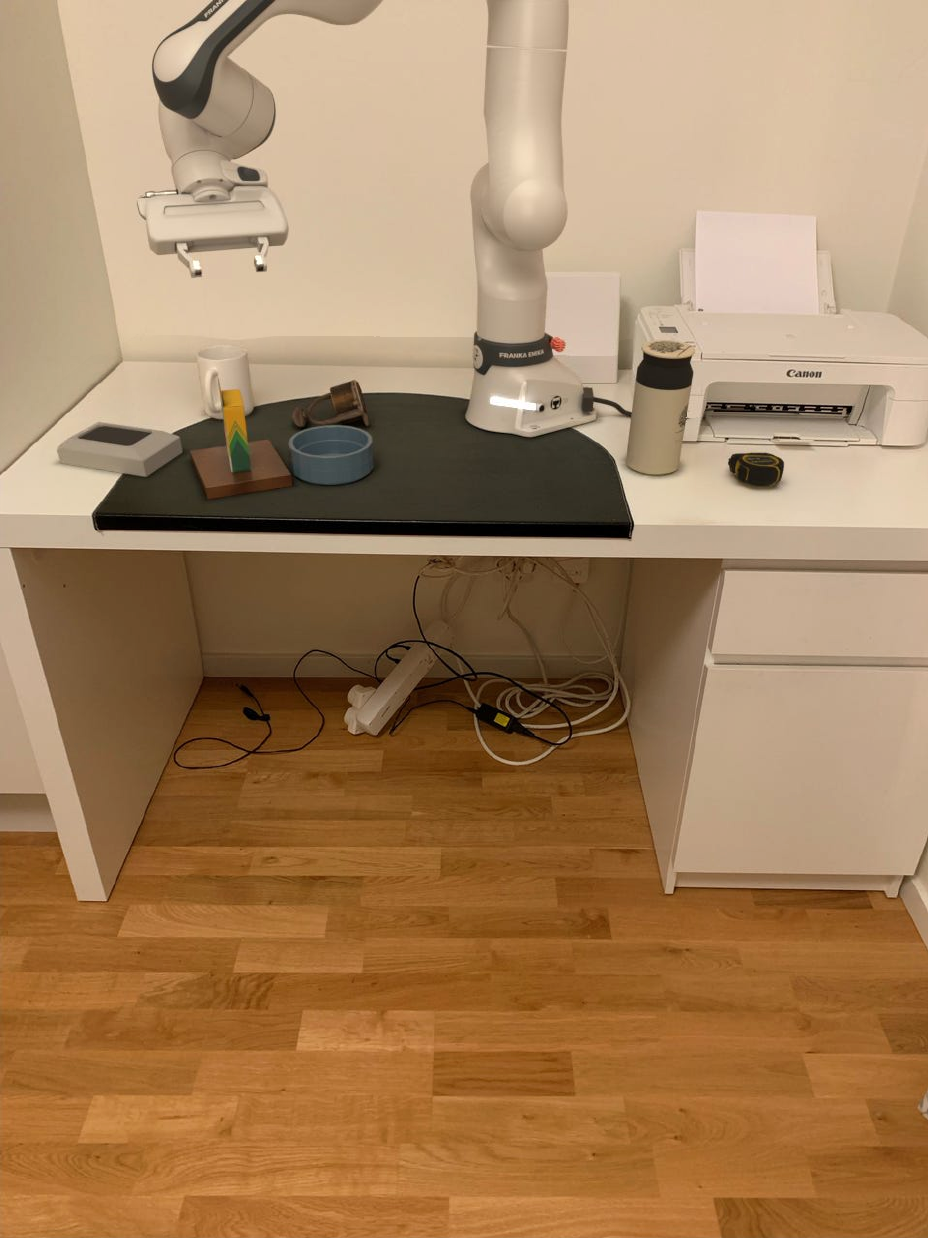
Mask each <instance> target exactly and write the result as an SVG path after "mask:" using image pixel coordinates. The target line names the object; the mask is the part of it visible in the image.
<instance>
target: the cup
mask: <svg viewBox="0 0 928 1238" xmlns="http://www.w3.org/2000/svg"><path fill="white" fill-rule="evenodd" d="M195 359H196V364H197V371H198V379H199V384H200V389H201V395H202V402H203V407H204V411H205V413H206V415H207V416H208V417H211V418H212V419H216V420H223V413H222V406H221V399H220V391H219V385H218V379H219V383H220V388H221V391H222V390H233V389H239V390H240V393H241V397H242V401H243V404H244V412H245V417H248V416H249V415H251V414H252V413H253V411H254V409H255V401H254V395H253V386H252V378H251V370H250V361H249V355H248V350H247V349H246V348H244V347H242V346H238V345H234V344H233V345H232V344H222V345H219V344H218V345H211V346H207V347H204V348H201V349H199V350H198V351H197V352H196V353H195Z"/></svg>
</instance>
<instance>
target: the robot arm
mask: <svg viewBox="0 0 928 1238" xmlns="http://www.w3.org/2000/svg"><path fill="white" fill-rule="evenodd" d="M383 1H384V0H212V1H210V3H208V4H207V5H206V6H205V7H204V8H203V9H202V10H201V11H199V12H198V14H197V15H195V16H194V18H192V19H191V20H189V21H188V22H186V23H185V24H183V25H182V26H181V27H178V28H177V29H175V30H174V31H172V32H170V34H168V35H167V36H166V37H165V38H163V40H161V42H160V43H159V44H158V45H157V47H156V49H155V51H154V54H153V55H152V60H151V61H152V62H151V73H152V79H153V85H154V88H155V91H156V93H157V97H158V107H157V109H158V123H159V128H160V129H159V130H160V134H161V138H162V142H163V146H164V149H165V152H166V155H167V157H168V158H169V160H170V162H171V167H170V168H171V170H170V171H171V176H172V180H173V183H174V188H175V189H167V190H160V191H154V190H148V191H145V192H144V194H142V195H141V196H139V197H138V199H137V200H136V207H137V210H138V214H139V216H140V217H141V218H142V219H143V220H144V221H145V226H146V234H147V242H148V247H149V249H150V251H152V252H153V253H154V254H155V255H156V256H167V255H177V259H178V261H180V262H181V263H182V265H184V266H185V267H186V268H187V269H188V271H189V275H190V278H191V279H195V278H202V277H203V271H202V270H203V269H202V267H201V263H200V260H199V259H197V260H195V259H193V258H192V257H191V256H190V255H189V254H193V253H203V252H204V253H205V252H216V251H217V252H218V251H227V250H228V251H229V250H230V251H231V250H242V249H243V250H244V249H257V252H258V253H260V254H257V255H254V256H253V258H254V260H253V265H254V268H255V271H256V272H255V273H263V272H264V273H265V272H267V270H268V264H267V260H266V258H267V255H268V252H269V248H270V247H281V246H282V247H283V246H284V245H285V244H286V242H287V240H288V237H289V228H290V227H289V222H288V219H287V216H286V213H285V211H284V208H283V206H282V203H281V201H280V199H279V197H278V195H277V193H276V192H274V190H272V189H271V188H269V179H268V175H267V173H266V172H265V171H264V170H262V169H259V168H255V167H250V166H246V165H242V164H239V163H236V162H233V160H237V159H240V158H242V157H243V156H246V155H248V154H250V153H251V152H252V151H254V150H256V149H258V148H259V147H260V146H262V145H263V144H265V142H267V140H268V139H269V138H270V136H271V135H272V133H273V130H274V127H275V124H276V115H277V109H276V102H275V97H274V94H273V92H272V91H271V89H270V87H268V86H266V85H265V83H263V82H262V81H261V80H259V79H258V78H256V77H255V76H254V75H253V74H251V72H249V71H247V70H246V69H245V68H243V67H241V66H240V65H238V63H236V62H235V61H234V60H233V59H231V58H229V57H230V56H231V54H233V52H234V51H235V50H237V49H238V48H239V47H240V46H241V45H242V44H243V43H244V42H245V41H247V40H248V38H250V37H251V36H252V35H253V34H254V33H255V32H256V31H257V30H258V29H260V27H262V25H264V24H265V23H266V22H268V21H269V20H270V19H273V18H275V17H277V16H282V15H283V16H284V15H296V16H303V17H307V18H310V19H315V20H317V21H320V22H322V23H325V24H329V25H335V26H352V25H357V24H359V23H360V22H362V21H363V20H365V19H367V18H368V17H369V16H370V15H371V14H373V12H374V11H376V9H377V8H378V7H379V6H380V5H381V4H382V2H383ZM485 1H486V6H487V7H486V8H487V34H486V35H487V37H486V46H487V47H486V55H485V72H484V73H485V75H484V93H483V94H484V96H483V117H484V122H485V129H486V142H487V143H486V144H487V158H488V162H487V163H485V164H483V166H481V167H480V168H479V170H478V171H477V172H476V174H475V175H474V177H473V179H472V181H471V184H470V191H469V198H470V206H471V223H472V238H473V239H472V240H473V251H474V260H475V261H474V262H475V269H476V270H475V271H476V282H477V283H476V289H477V290H476V291H477V292H476V331H475V332H474V334H473V347H472V363H473V364H472V366H473V369H474V372H473V380H472V386H471V392H470V396H469V402H468V405H467V409H466V411H465V415H464V418H465V420H466V421H467V422H468V423H469V424H470V425H472V426H473V427H476V428H479V429H480V430H485V431H489V432H495V433H501V434H502V433H503V434H512V435H517V436H520V437H524V438H533V437H538V436H541V435H545V434H549V433H553V432H557V431H561V430H565V429H568V428H572V427H575V426H576V427H577V426H579V425H583V424H587V423H590V422H594V421H596V420H597V410H596V409H595V406H594V403H596V404H597V403H598V404H601V405H606V406H609V407H612V408H613V409H615V410H617V412H618V413H620V414H621V415H623V416H626V417H629V418H631V415H632V411H629V410H626V409H624V408H623V407H622V406H621V405H620V404H619V403H617V402H615V401H613V400H611V399H606V398H602V397H597V396H595V395H594V390H593V387H589V386H588V387H587V386H586V387H585V386H583V383H582V380H581V379H580V376H578V375H577V374H576V373H575V372H573V371H572V370H571V369H570V368H569V367H568V366H566V365H565V364H564V363H563V362H562V361H560V360H559V359H558V358H557V357H556V356H555V355H554V352H553V351H555V352H557V353H562V352H564V351H565V349H566V346H567V344H566V341H565V339H561V338H560V337H559V336H555V337H553V336H552V335H550V334H548V333H547V332H546V321H547V319H546V318H547V304H548V303H547V302H548V289H549V288H548V287H549V286H548V285H549V284H548V279H547V275H546V269H545V263H544V253H543V250H544V249H546V248H548V247H550V246H551V245H552V244H553V243H555V242H556V241H557V240H558V239H559V238H560V237H561V235H562V233H563V232H564V229H565V227H566V224H567V220H568V211H569V209H568V203H567V199H566V194H565V185H564V183H565V181H564V179H565V178H564V176H565V175H564V174H565V173H564V150H563V134H562V132H563V131H562V114H563V113H562V112H563V99H564V89H565V88H564V87H565V78H566V77H565V76H566V65H567V55H568V54H567V53H568V42H569V41H568V40H569V22H570V21H569V17H570V16H569V14H570V13H569V12H570V11H569V9H570V8H569V7H570V6H569V5H570V3H569V0H485Z"/></svg>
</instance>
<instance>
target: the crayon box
mask: <svg viewBox="0 0 928 1238" xmlns="http://www.w3.org/2000/svg"><path fill="white" fill-rule="evenodd" d="M218 385H219V391H220V399H221V406H222V413H223V419H222V420H223V428H224V434H225V435H224V436H225V442H226V444H225V445H226V446H227V451H228V457H229V463H230V468H231V472H232V473H233V472H243V471H251V463H250V455H249V447H248V442H249V440H248V439H249V437H248V430H247V423H246V416H245V412H244V404H243V401H242V397H241V393H240V390H239V389H233V390H222V391H221V388H220V383H219V379H218Z"/></svg>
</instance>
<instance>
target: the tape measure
mask: <svg viewBox="0 0 928 1238" xmlns="http://www.w3.org/2000/svg"><path fill="white" fill-rule="evenodd" d="M727 466H728V469H729V471H730V473H731V474H734V475H735V477H736V479H737V480H738V481H740V482H741V483H744V484H746V485H750V486H755V487H771V486H775V485H777V484H779V483H780V482H781V480H782V478H783V474H784V469H785V462H784V460H783V459H782V458H781V457H779V456H777V455H775V454H773V453H769V452H743V453H741V452H740V453H739V452H738V453H732V454H731V455H730V457H729V458H728V462H727Z"/></svg>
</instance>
